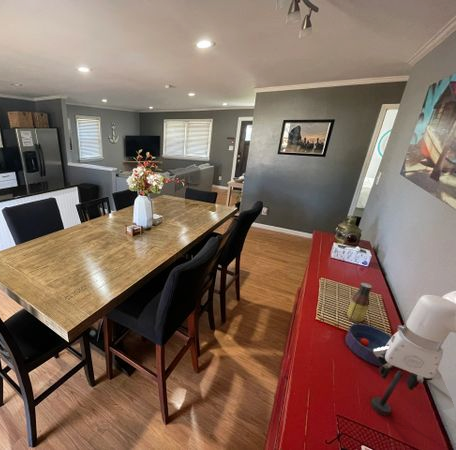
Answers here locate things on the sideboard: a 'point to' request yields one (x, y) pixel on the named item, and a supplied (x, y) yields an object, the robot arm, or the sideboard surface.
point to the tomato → (364, 342)
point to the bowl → (374, 338)
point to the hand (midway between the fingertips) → (395, 379)
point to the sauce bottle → (359, 303)
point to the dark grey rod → (385, 397)
